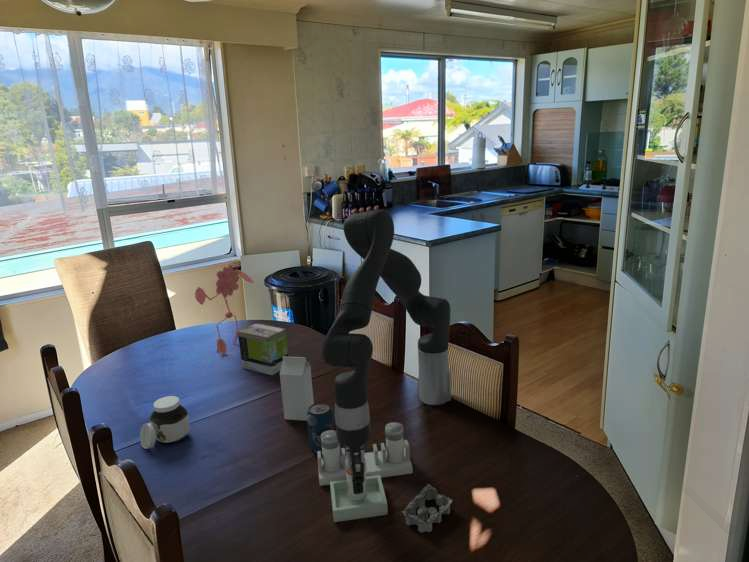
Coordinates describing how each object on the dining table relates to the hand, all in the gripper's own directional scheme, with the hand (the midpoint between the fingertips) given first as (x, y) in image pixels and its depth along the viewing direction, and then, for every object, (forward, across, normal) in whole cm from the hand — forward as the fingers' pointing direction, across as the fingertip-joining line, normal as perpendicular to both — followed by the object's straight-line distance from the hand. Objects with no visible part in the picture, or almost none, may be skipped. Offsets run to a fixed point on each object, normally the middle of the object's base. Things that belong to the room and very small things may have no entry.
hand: (357, 485), depth 120 cm
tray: (+5, 0, 0) cm, 5 cm away
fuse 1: (+3, +12, +5) cm, 13 cm away
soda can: (+5, +24, +7) cm, 25 cm away
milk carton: (+5, +43, +13) cm, 45 cm away
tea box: (+5, +80, +25) cm, 84 cm away
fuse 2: (+3, +12, -11) cm, 17 cm away
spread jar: (+5, +37, +51) cm, 63 cm away
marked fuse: (+2, 0, 0) cm, 2 cm away
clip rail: (+5, +12, -3) cm, 13 cm away
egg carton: (+5, -7, -15) cm, 17 cm away
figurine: (+5, +98, +37) cm, 105 cm away
